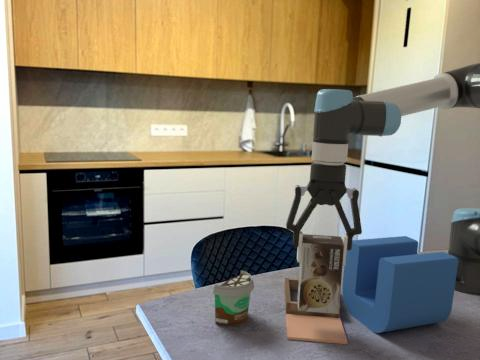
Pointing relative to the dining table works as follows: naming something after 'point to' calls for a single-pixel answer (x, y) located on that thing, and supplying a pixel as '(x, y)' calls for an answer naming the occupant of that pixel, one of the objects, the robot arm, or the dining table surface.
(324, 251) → the coffee box
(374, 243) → the block
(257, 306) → the dining table surface
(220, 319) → the food container
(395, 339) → the dining table surface
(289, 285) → the walnut frame
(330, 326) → the terracotta tile
